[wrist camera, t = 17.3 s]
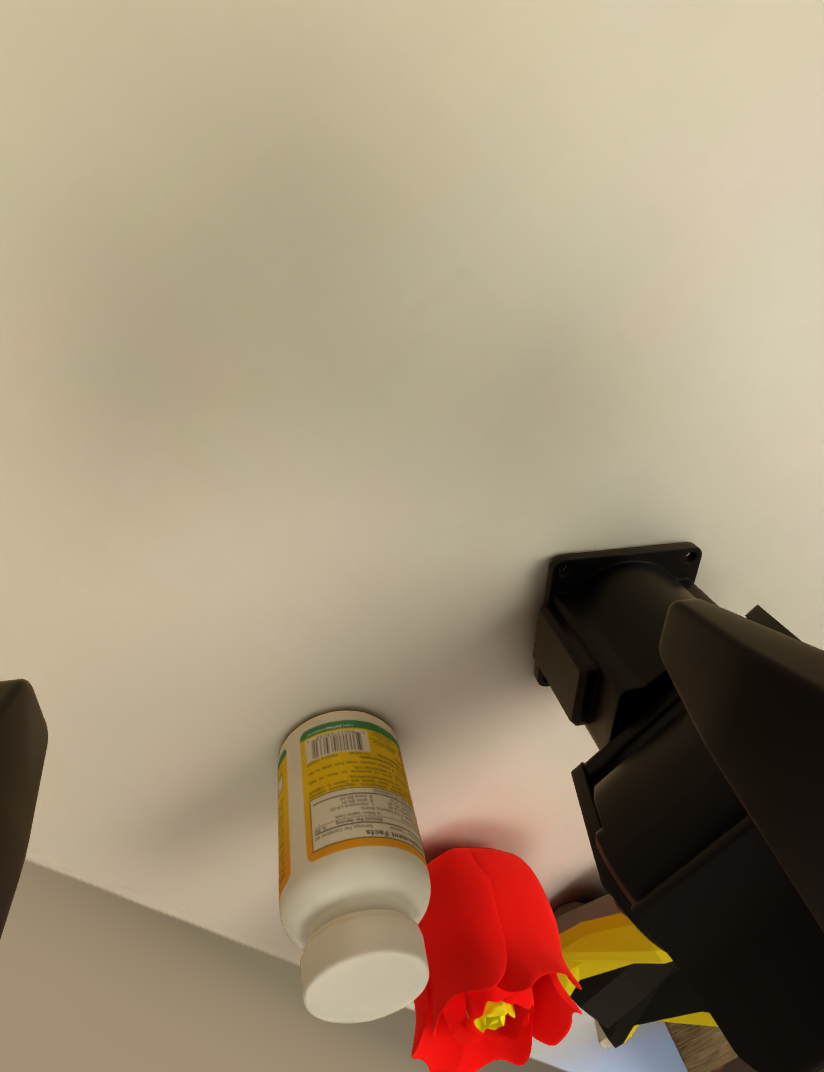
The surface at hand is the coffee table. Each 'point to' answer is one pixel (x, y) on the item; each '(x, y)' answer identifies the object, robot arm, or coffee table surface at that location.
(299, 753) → the supplement bottle
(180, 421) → the coffee table surface
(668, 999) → the gaming controller
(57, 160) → the coffee table surface
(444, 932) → the flower
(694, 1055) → the book
